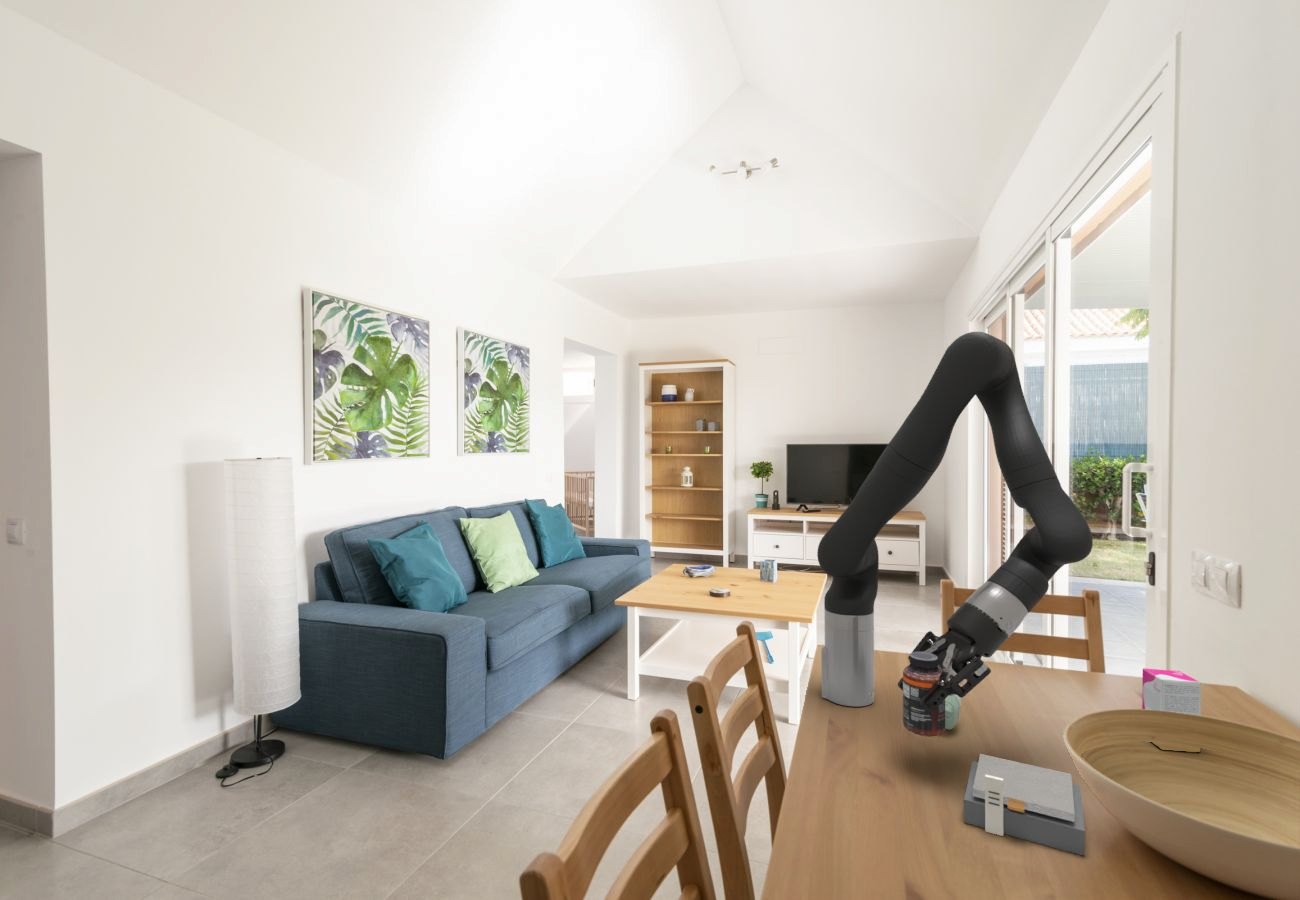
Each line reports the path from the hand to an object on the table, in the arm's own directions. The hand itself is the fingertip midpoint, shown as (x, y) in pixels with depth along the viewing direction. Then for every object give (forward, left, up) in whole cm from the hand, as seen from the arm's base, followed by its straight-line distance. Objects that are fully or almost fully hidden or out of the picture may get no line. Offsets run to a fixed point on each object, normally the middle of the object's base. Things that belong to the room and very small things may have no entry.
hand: (913, 698), depth 96 cm
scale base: (+14, -5, -11) cm, 19 cm away
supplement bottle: (+1, +1, -5) cm, 5 cm away
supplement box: (+34, +31, -11) cm, 48 cm away
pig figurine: (+2, +18, -11) cm, 21 cm away
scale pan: (+14, -6, -7) cm, 17 cm away
